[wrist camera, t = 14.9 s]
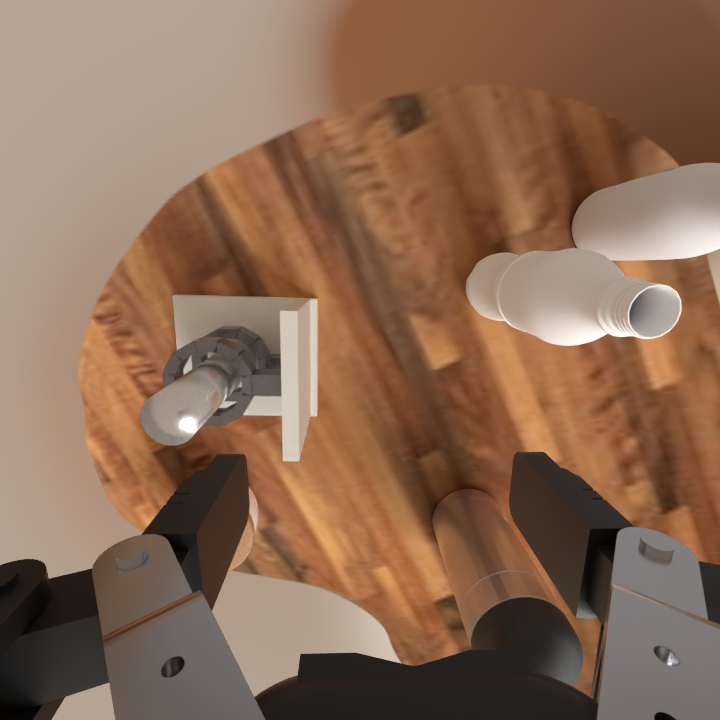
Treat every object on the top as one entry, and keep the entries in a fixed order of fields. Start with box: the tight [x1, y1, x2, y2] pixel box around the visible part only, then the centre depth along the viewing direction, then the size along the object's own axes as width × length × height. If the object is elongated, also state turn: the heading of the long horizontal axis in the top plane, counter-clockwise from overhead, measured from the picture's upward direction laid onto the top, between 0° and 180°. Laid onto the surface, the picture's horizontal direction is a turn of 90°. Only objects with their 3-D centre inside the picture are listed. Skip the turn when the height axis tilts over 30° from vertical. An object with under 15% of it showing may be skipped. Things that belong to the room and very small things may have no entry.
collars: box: [163, 326, 282, 426], centre depth 39 cm, size 8×11×8 cm
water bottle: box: [466, 248, 681, 346], centre depth 33 cm, size 7×7×25 cm
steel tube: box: [140, 342, 257, 446], centre depth 36 cm, size 4×4×18 cm
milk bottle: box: [572, 163, 720, 260], centre depth 34 cm, size 8×8×20 cm
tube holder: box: [172, 294, 318, 461], centre depth 40 cm, size 14×16×12 cm
